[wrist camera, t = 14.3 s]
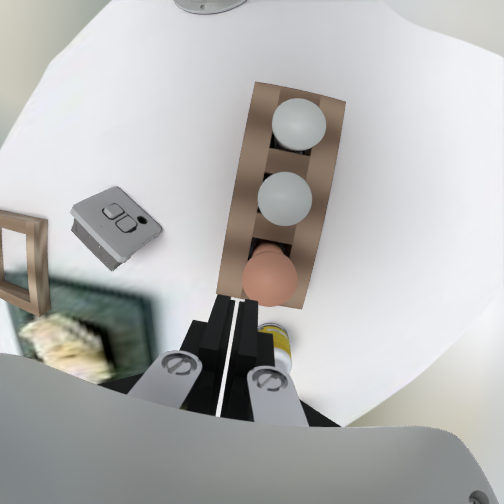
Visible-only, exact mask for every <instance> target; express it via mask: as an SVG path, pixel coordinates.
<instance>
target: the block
mask: <svg viewBox="0 0 504 504" xmlns="http://www.w3.org/2000/svg"><path fill="white" fill-rule="evenodd" d="M295 98H301V99H306V100H309V101H311V102H313V103H314V104H315V105H317V106H318V107H319V108H320V109H321V111H322V112H323V114H324V116H325V120H326V131H325V134H324V136H323V138H322V139H321V141H320V142H319V143H317V144H316V145H315V146H313V147H311V148H309V149H307V150H305V151H304V155H301V154H296V153H292V152H287V151H282V150H277V149H272V148H269V146H270V141H271V136H272V131H273V130H272V120H273V115H274V113H275V111H276V109H277V108H278V106H279V105H281V104H282V103H283V102H285V101H287V100H290V99H295ZM345 104H346V102H345V101H341V100H338V99H334V98H331V97H327V96H323V95H319V94H315V93H311V92H307V91H302V90H298V89H293V88H288V87H283V86H278V85H273V84H267V83H261V82H255V85H254V90H253V95H252V99H251V104H250V109H249V114H248V119H247V124H246V129H245V134H244V139H243V144H242V149H241V154H240V159H239V164H238V170H237V175H236V180H235V186H234V191H233V196H232V202H231V208H230V213H229V219H228V225H227V230H226V236H225V242H224V248H223V254H222V260H221V266H220V272H219V278H218V285H217V291H216V294H221V295H226V296H231V297H235V298H240V299H249V297H248V296H247V295H246V293H245V291H244V289H243V286H242V275H243V271H244V268H245V265H246V264H247V262H248V255H249V250H250V245H251V240H252V237H255V238H260V239H266V240H271V241H276V242H281V243H286V244H285V249H284V255H285V256H287V257H288V258H289V259H290V260H291V261H292V263H293V265H294V267H295V269H296V272H297V276H298V284H297V288H296V290H295V292H294V294H293V295H292V297H291V298H290V299H289V300H288V301H286V302H285V303H283V304H281V305H278V306H284V307H290V308H296V309H302V307H303V304H304V300H305V296H306V293H307V289H308V285H309V281H310V277H311V273H312V269H313V265H314V261H315V257H316V253H317V249H318V245H319V240H320V236H321V232H322V227H323V223H324V218H325V214H326V209H327V204H328V200H329V195H330V190H331V185H332V180H333V175H334V169H335V164H336V159H337V153H338V147H339V142H340V136H341V130H342V124H343V117H344V111H345ZM279 172H291V173H294V174H296V175H298V176H300V177H301V178H303V179H304V180H305V181H306V183H307V184H308V186H309V188H310V190H311V194H312V205H311V208H310V210H309V212H308V214H307V215H306V217H305V218H304V219H303V220H301V221H300V222H298V223H297V224H294V225H290V226H280V225H276V224H274V223H272V222H270V221H269V220H267V219H266V218H265V217H264V216H263V214H262V213H261V211H260V209H259V208H258V192H259V189H260V187H261V185H262V182H263V177H264V174H267V175H273V174H275V173H279ZM250 300H251V299H250Z"/></svg>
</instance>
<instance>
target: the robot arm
mask: <svg viewBox="0 0 504 504" xmlns="http://www.w3.org/2000/svg"><path fill="white" fill-rule="evenodd" d="M244 1H246V0H174V2H175V4H176V5H177V6H178V7H180V8H181V9H183V10H185V11H188V12H191V13H196V14H212V13H218V12H223V11H226V10H229V9H232V8H234V7H236V6H238V5H240V4H241V3H243V2H244ZM230 299H231V296H226V295H221V294H218V295H217V298H216V300H215V303H214V306H213V309H212V312H211V315H210V318H209V320H208V323H207V322H201V321H196V320H193V321H192V323H191V325H190V328H189V330H188V332H187V334H186V337H185V339H184V341H183V343H182V346H181V348H180V350H179V351H178V350H173V351H168V352H165V353H163V354H161V355H160V356H159V357H158V358H157V359H156V360H155V362H154V363H153V364H152V365H151V366H150V367H149V369H148V370H147V371H146V372H145V373H142V374H138V375H134V376H131V377H127V378H123V379H118V380H114V381H110V382H106V383H101V384H97V385H96V384H93V383H91V382H88V381H85V380H83V379H80V378H78V377H75V376H73V375H70V374H68V373H65V372H63V371H60V370H58V369H55V368H53V367H50V366H48V365H45V364H43V363H40V362H37V361H35V360H32V359H29V358H25V357H22V356H18V355H12V354H6V353H0V504H499V503H498V501H497V498H496V496H495V494H494V492H493V490H492V488H491V486H490V484H489V482H488V480H487V478H486V476H485V475H484V473H483V471H482V469H481V467H480V466H479V464H478V463H477V461H476V460H475V458H474V457H473V455H472V453H471V452H470V451H469V449H468V448H467V447H466V446H465V444H464V443H463V442H462V441H461V440H460V439H459V438H458V437H457V436H455V435H454V434H452V433H450V432H447V431H444V430H440V429H436V428H431V427H422V426H382V427H381V426H380V427H341V426H339V425H338V424H336V423H335V422H333V421H331V420H330V419H328V418H327V417H325V416H324V415H322V414H321V413H319V412H318V411H316V410H315V409H313V408H312V407H310V406H309V405H307V404H306V403H304V402H303V401H301V400H300V399H299V397H298V394H297V392H296V389H295V386H294V383H293V381H292V379H291V377H290V375H288V374H287V373H286V372H285V371H283V370H281V369H279V368H276V367H275V356H274V341H273V334H272V333H265V332H259V331H258V301H256V300H250V299H245V302H241V301H240V302H239V307H238V313H237V319H236V325H235V331H234V337H233V342H232V348H231V354H230V360H229V366H228V372H227V378H226V384H225V390H224V397H223V403H222V409H221V415H220V417H216V416H215V415H216V410H217V404H218V399H219V393H220V388H221V382H222V377H223V372H224V366H225V361H226V355H227V349H228V343H229V336H230V330H231V324H232V318H233V312H234V306H235V300H230Z"/></svg>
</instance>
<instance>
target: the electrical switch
mask: <svg viewBox="0 0 504 504" xmlns="http://www.w3.org/2000/svg"><path fill="white" fill-rule="evenodd" d="M70 213H71V214H72V215H73V216H74V224H73V227H72V229H71V231H72V232H73V233H74V234H75V235H76V236H77V237H78V238H79V239H80V240H81V241H82V242H83V243H84V244H85V246H86V247H87V248H88V249H89V250H90V251H91V252H92V253H93V254H94V255H95V256H96V257H97V258H98V259H99V260H100V261H101V262H102V263H103V264H104V265H105V266H106V267H108V268H109V269H110V270H111V271H112V270H113V271H114V270H115V269H116V268H117V267H118V266H119V265H121V264H122V263H125V262H126V261H127V260H128V259H129V258H131V257H130V256H131V255H133V254H134V253H135V252H136V251H137V250H139V249H140V248H141V247H142V246H144V245H145V244H146V243H147V242H148V241H150V240H151V239H152V238H155V237H157V236H158V235H159V233H160V232H161V227H160V225H158V224H157V223H156V222H155V221H154V220H153V219H152V218H151V217H150V216H149V215H148V214H146V213H145V212H144V211H143V210H142V209H141V208H140V207H139V206H138V205H137V204H136V203H135V202H133V201H132V200H131V199H130V198H129V197H128V196H127V195H126V194H125V193H124V192H123V191H122V190H121V189H120V188H118V187H112V188H110V189H108V190H105V191H103V192H101V193H98V194H96V195H94V196H92V197H90V198H87V199H85V200H83V201H81V202H79V203H77V204H75V205H74V206H73V207H72V210H71V212H70ZM89 236H90V238H89ZM99 246H100V248H99ZM106 262H107V263H106Z"/></svg>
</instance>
